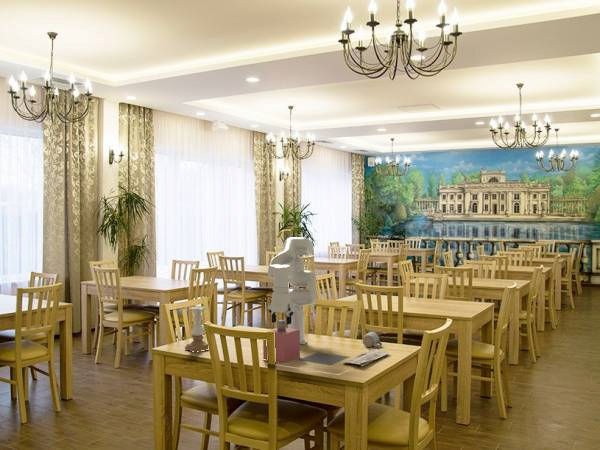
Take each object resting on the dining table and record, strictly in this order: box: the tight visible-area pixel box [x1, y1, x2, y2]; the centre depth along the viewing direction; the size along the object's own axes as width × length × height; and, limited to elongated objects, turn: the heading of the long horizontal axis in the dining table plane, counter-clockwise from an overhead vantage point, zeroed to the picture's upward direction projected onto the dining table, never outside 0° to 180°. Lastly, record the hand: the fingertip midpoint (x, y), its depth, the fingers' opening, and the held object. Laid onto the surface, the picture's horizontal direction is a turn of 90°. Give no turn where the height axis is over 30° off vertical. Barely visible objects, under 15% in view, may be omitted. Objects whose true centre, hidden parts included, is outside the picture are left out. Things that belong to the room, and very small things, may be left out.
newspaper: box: [342, 348, 390, 368], centre depth 302 cm, size 35×12×4 cm, turn 150°
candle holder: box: [184, 305, 209, 352], centre depth 330 cm, size 11×11×24 cm
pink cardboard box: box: [262, 319, 301, 364], centre depth 306 cm, size 13×14×20 cm
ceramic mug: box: [362, 331, 383, 348], centre depth 334 cm, size 11×8×8 cm
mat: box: [297, 352, 350, 366], centre depth 304 cm, size 20×20×1 cm
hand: (281, 323), depth 306 cm, fingers open, 9 cm apart
